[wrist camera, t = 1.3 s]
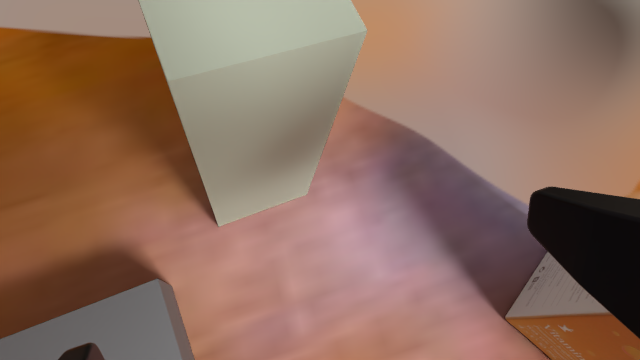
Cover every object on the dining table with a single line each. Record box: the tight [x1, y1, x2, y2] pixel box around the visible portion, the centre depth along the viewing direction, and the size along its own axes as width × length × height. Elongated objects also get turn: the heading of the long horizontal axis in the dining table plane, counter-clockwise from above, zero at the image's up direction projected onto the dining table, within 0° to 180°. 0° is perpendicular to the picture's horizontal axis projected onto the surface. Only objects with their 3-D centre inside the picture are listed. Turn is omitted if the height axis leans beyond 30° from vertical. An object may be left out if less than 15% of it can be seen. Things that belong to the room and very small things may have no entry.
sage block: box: [138, 0, 367, 227], centre depth 16 cm, size 5×5×13 cm
